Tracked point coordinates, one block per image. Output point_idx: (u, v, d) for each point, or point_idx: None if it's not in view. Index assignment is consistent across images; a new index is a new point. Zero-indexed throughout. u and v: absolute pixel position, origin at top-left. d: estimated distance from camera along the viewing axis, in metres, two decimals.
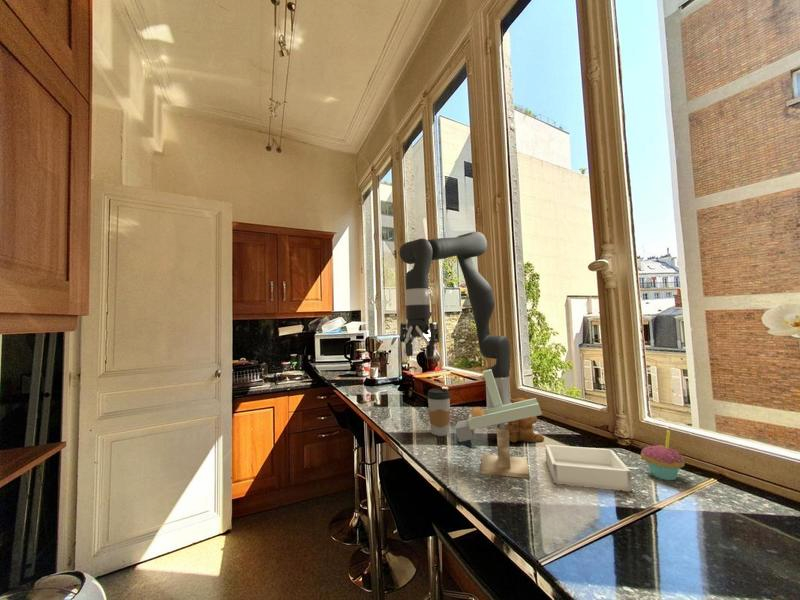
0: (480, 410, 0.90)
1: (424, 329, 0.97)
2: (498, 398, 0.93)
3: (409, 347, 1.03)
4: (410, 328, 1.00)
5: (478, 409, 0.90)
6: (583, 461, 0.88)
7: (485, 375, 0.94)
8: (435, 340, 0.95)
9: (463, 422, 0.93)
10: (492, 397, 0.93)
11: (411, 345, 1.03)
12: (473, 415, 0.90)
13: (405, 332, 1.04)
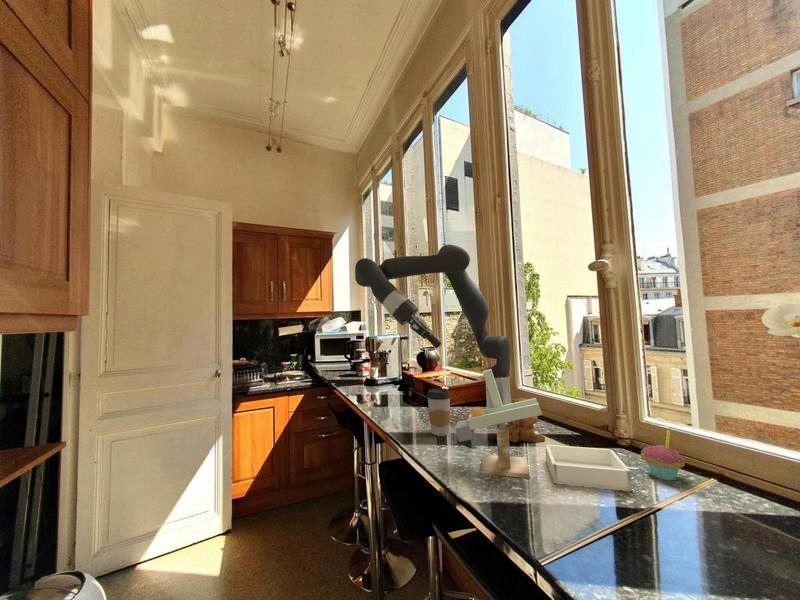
0: (480, 410, 0.90)
1: None
2: (498, 398, 0.93)
3: None
4: (420, 319, 1.00)
5: (478, 409, 0.90)
6: (583, 461, 0.88)
7: (485, 375, 0.94)
8: None
9: (463, 422, 0.93)
10: (492, 397, 0.93)
11: None
12: (473, 415, 0.90)
13: None
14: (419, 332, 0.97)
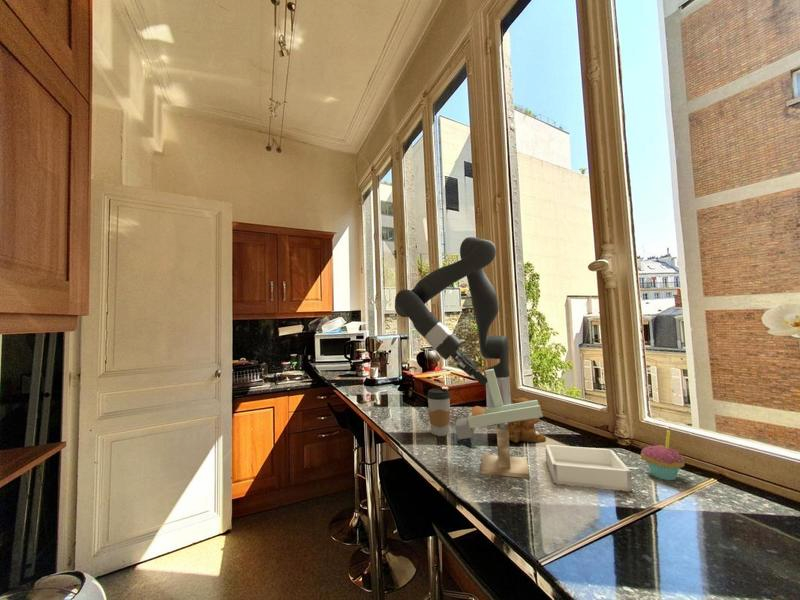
0: (481, 409, 0.90)
1: None
2: (499, 398, 0.93)
3: None
4: (465, 354, 0.96)
5: (479, 408, 0.90)
6: (583, 461, 0.88)
7: (487, 374, 0.94)
8: None
9: (463, 420, 0.93)
10: (493, 397, 0.93)
11: None
12: (473, 414, 0.90)
13: None
14: (465, 370, 0.92)
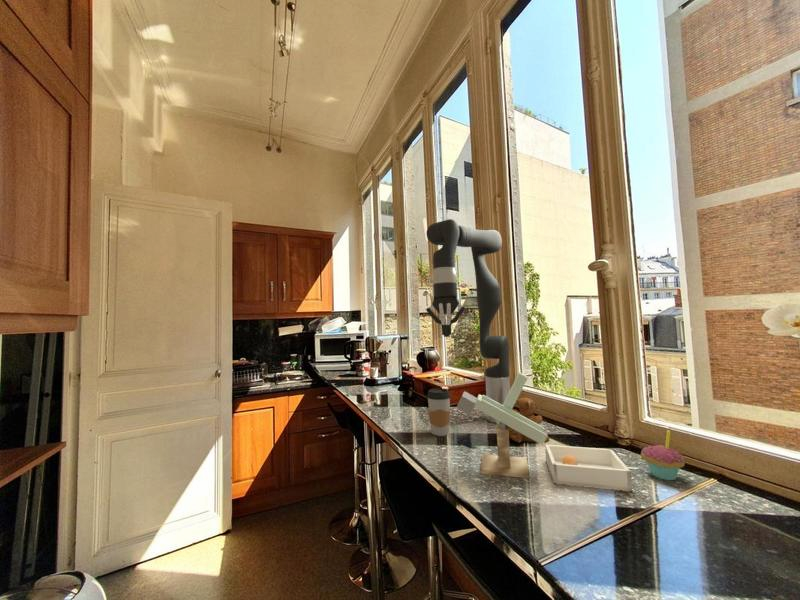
0: None
1: None
2: (513, 402, 0.92)
3: None
4: None
5: None
6: (583, 461, 0.88)
7: (519, 377, 0.91)
8: None
9: (469, 396, 0.93)
10: (509, 397, 0.92)
11: None
12: (571, 461, 0.83)
13: None
14: (460, 315, 1.02)
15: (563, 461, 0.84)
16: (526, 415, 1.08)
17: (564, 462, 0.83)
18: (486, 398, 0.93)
